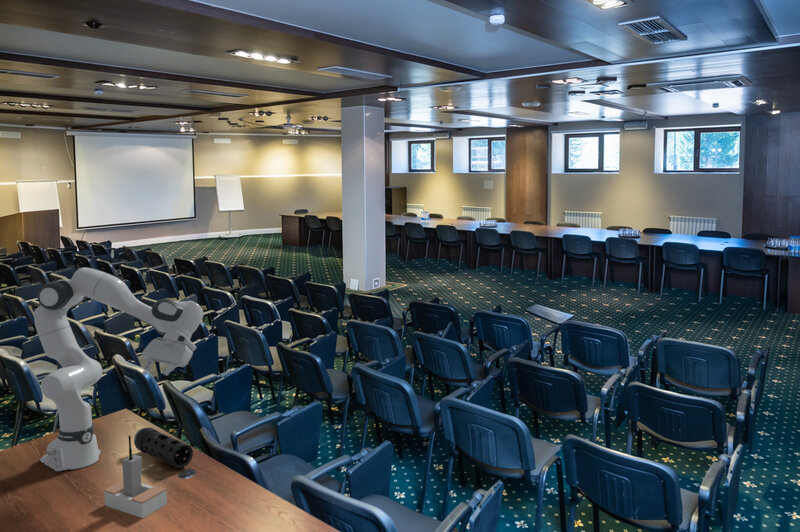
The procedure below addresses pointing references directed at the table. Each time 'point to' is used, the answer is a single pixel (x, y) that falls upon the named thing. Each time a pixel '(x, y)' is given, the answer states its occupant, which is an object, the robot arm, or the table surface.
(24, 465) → the table surface
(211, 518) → the table surface
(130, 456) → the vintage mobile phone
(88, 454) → the robot arm
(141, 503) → the tan rectangular frame
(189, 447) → the muzzle brake
